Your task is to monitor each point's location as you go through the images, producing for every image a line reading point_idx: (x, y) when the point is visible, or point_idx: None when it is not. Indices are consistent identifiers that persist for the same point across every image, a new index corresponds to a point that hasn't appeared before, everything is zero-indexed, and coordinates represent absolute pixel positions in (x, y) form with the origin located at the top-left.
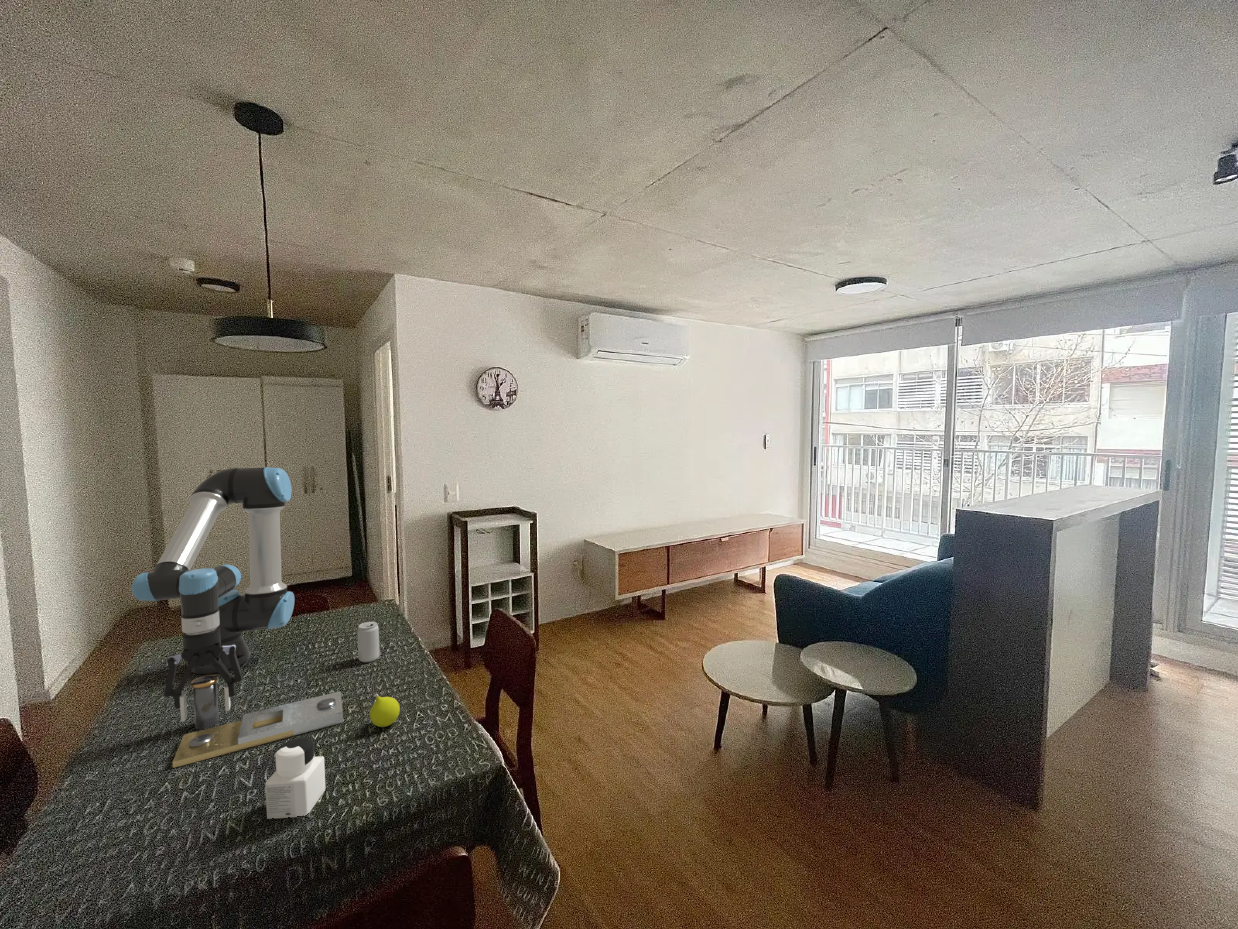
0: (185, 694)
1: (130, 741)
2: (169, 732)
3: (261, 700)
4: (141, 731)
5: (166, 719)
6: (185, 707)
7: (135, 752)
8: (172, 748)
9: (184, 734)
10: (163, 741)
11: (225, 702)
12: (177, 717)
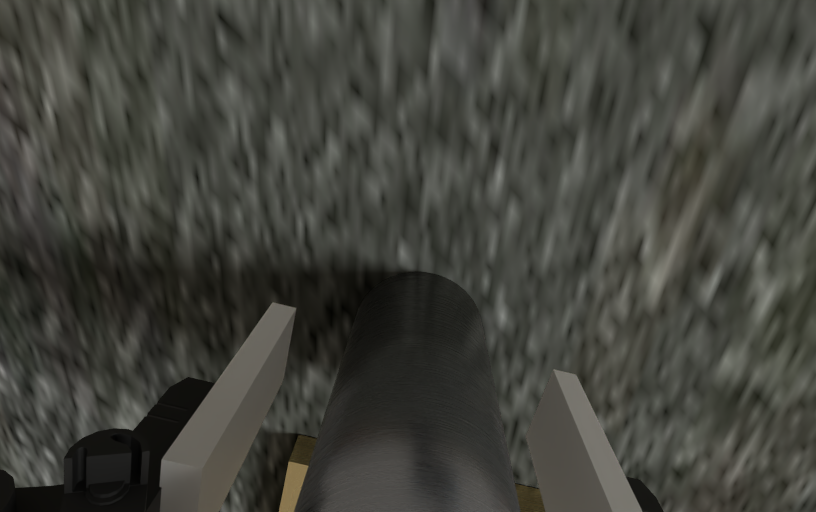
0: (212, 467)
1: (18, 219)
2: (220, 273)
3: (786, 241)
4: (47, 111)
5: (179, 24)
6: (259, 402)
7: (82, 380)
8: (249, 468)
9: (291, 461)
10: (200, 363)
11: (544, 496)
12: (252, 54)
